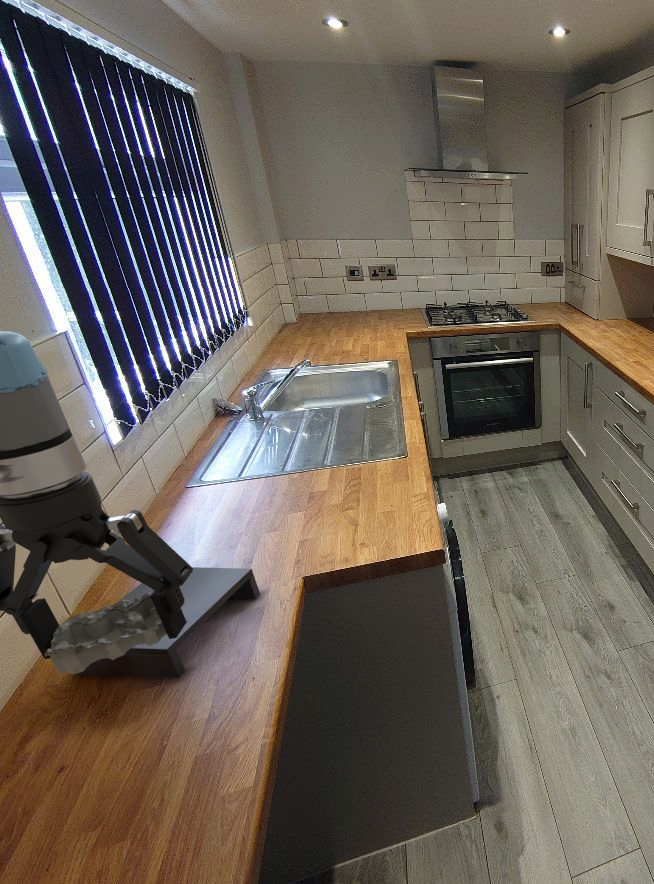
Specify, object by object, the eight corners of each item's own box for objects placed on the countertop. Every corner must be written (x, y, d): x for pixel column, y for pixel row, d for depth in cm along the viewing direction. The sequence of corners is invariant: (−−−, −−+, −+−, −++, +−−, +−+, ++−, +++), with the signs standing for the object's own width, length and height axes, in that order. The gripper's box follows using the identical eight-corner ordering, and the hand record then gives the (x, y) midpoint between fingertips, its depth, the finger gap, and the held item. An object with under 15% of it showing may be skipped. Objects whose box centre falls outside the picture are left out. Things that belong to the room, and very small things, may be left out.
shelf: (75, 674, 76) (59, 646, 74) (173, 591, 93) (162, 566, 91) (179, 678, 76) (166, 649, 73) (260, 593, 92) (251, 568, 90)
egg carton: (52, 684, 58) (35, 656, 56) (65, 642, 63) (50, 616, 62) (172, 640, 63) (160, 614, 62) (174, 605, 69) (163, 580, 67)
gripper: (-143, 517, 49) (-30, 685, 57) (154, 485, 54) (217, 644, 63) (-70, 480, 56) (21, 635, 64) (189, 454, 61) (241, 602, 69)
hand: (118, 640), depth 63 cm, fingers closed on egg carton, 12 cm apart
